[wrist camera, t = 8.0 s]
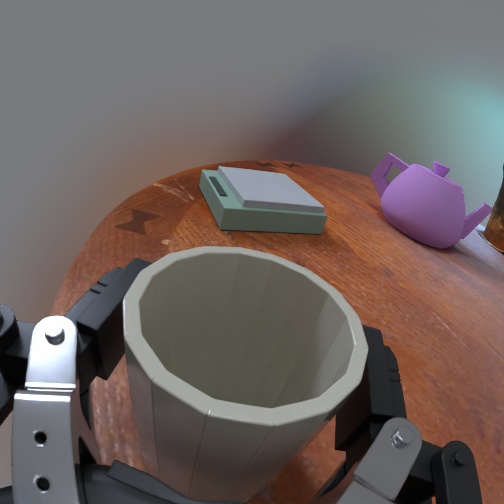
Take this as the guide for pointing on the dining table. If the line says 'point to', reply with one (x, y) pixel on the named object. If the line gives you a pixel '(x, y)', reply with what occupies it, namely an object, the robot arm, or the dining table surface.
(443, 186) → the teapot
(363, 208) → the dining table surface
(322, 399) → the tumbler
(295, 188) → the scale
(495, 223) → the vessel
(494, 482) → the dining table surface
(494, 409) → the dining table surface
